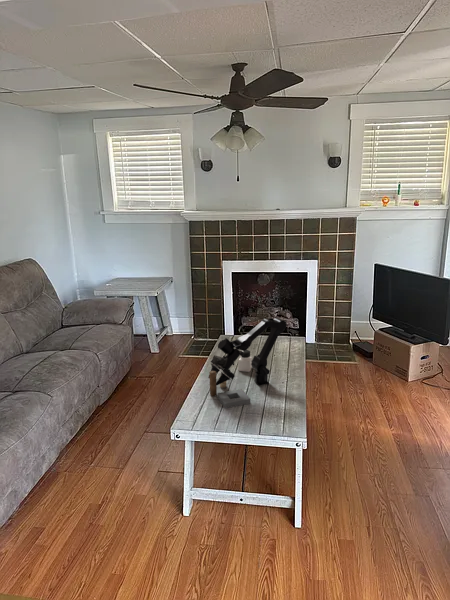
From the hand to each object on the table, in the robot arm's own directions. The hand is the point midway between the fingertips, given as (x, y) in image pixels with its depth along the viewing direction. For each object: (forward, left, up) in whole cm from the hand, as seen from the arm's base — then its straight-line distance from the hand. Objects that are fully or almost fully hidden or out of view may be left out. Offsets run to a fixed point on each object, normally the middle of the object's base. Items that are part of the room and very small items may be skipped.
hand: (212, 381), depth 226 cm
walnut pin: (0, 0, -8) cm, 8 cm away
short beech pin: (-8, -7, -8) cm, 13 cm away
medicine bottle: (-28, -24, -8) cm, 38 cm away
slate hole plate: (-8, +10, -8) cm, 15 cm away
